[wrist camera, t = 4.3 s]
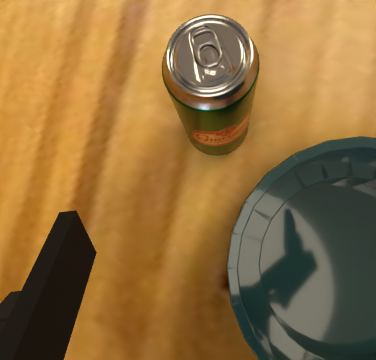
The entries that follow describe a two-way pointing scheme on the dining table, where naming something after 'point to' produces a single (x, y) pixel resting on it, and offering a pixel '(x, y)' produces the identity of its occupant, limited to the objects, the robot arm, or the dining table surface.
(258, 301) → the glazed bowl
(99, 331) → the dining table surface
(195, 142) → the soda can
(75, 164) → the dining table surface
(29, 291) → the robot arm
